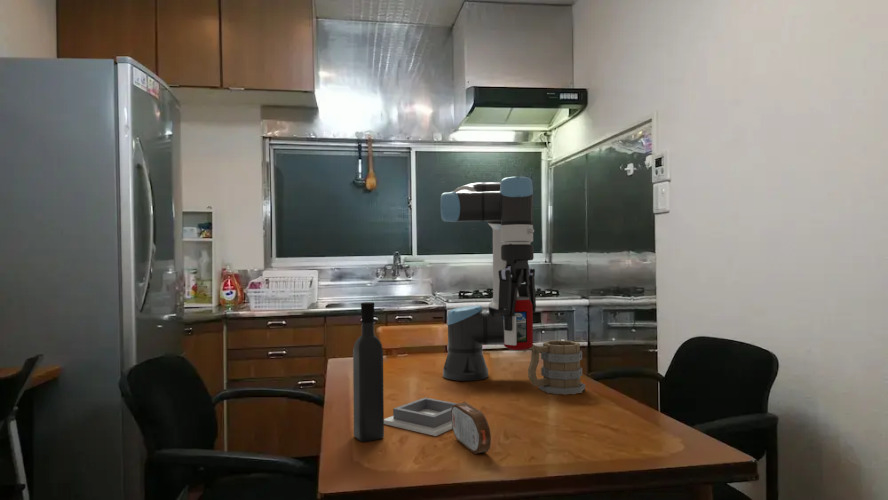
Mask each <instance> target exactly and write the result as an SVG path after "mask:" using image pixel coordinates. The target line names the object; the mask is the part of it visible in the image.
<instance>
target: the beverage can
mask: <svg viewBox="0 0 888 500" xmlns="http://www.w3.org/2000/svg"><path fill="white" fill-rule="evenodd" d="M533 314H534V313H533V308H532V303H531V301H530V299H529V297H519V296H517V299H516V305H515V312H514V316H516V339H517V345H505V344H504V345H503V347H505V349H506V348H507V350H509V351H514V352H519V351H520V352H521V351H522V352H524V350H527V351H528V350H529V351H530V349H529V348H531V347H532V346H533V345H534V323H533V321H534V320H533V317H534V316H533ZM503 321H504V316H503Z"/></svg>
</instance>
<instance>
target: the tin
mask: <svg viewBox="0 0 888 500" xmlns="http://www.w3.org/2000/svg"><path fill="white" fill-rule="evenodd" d="M451 418H452V429H451V430H452V431H453V434H454V437H455V439H456V440H457V442H459V443H460V444H462V446H464V447H465V448H466V449H468V451H470V452H471V453H472V454H476V455H477V454H481V453H488V452H489V450H490V449H491V444H492V434H491V429H490V426H489V422H488V420H487V418H486V416H485V415H484V413H483V412H482V411H481V410H479V409H478V408H476V407H474V406H473V405H471V404H469V403H468V402H467V401H462V402H459V403H458V404H455V405H453V406H452V409H451Z"/></svg>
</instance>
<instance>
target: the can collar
mask: <svg viewBox="0 0 888 500" xmlns="http://www.w3.org/2000/svg"><path fill="white" fill-rule="evenodd" d="M455 404H458V403H457V402H452V401H445V400H440V399H435V398H429V397H423V398H420V399H417V400H413V401H411V402H408V403H406V404H402V405H399V406H397V407H394V408H393V410H392V411H393V412H392V413H393V415H391V416H389V417H385V418H384V425H388V426H391V427H396V428H399V429H403V430H408V431H413V432H417V433H421V434H425V435H430V436H433V437H437V436H439V435H442V434H444V433H446V432H449V431H450V430H453V429H452V418H451V409H452V406H453V405H455Z"/></svg>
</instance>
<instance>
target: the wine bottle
mask: <svg viewBox="0 0 888 500" xmlns="http://www.w3.org/2000/svg"><path fill="white" fill-rule="evenodd" d="M360 313H361V335H360V336H359V337H357V339H355V342H354V345H353V349H352V350H353V351H352V363H353V364H352V366H353V367H352V370H353V373H352V374H353V377H352V383H353V384H352V386H353V387H352V388H353V394H352V395H353V399H352V400H353V436H354V437H355V438H356V439H357V440H358V441H360V442H362V443H365V442H371V441H376V440H377V441H378V440H382V439H384V437H385V426H384V425H385V424H384V419H385V416H384V411H385V410H384V408H385V407H384V405H385V403H384V348H383V345H382V344H383V343H382V342H381V341H380V339H379V338H378V337H377V336H376V334H375V302H370V301H369V302H368V301H367V302H360Z"/></svg>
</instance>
